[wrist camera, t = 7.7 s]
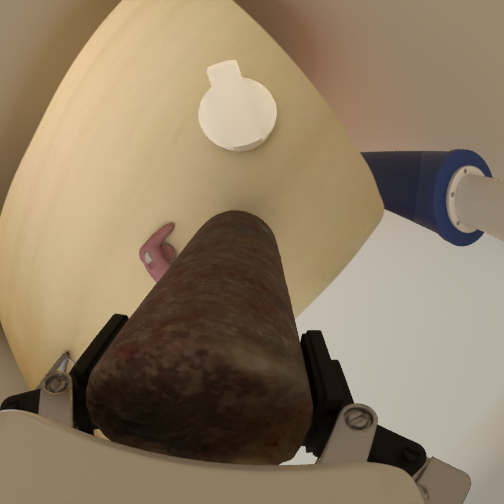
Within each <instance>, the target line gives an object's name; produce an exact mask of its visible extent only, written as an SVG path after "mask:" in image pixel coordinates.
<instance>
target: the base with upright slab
mask: <svg viewBox="0 0 504 504" xmlns="http://www.w3.org/2000/svg"><path fill="white" fill-rule="evenodd" d="M206 71H207V74H208V77H209V80H210V83H211V86H212V87H211V88H210V89H209V90H208V91H207V93H206V94H205V95H204V97H203V98H202V101H201V103H200V106H199V114H198V116H199V122H200V126H201V128H202V130H203V132H204V134H205V135H206V136H207V137H208V138H209V139H210V141H212V142H214V143H215V144H217V145H218V146H220V147H222V148H224V149H227V150H230V151H236V152H243V151H249V150H252V149H254V148H256V147H258V146H259V145H261V144H262V143H263V142H264V141H265V140H266V139H267V138H268V136H269V135H270V133H271V131H272V129H273V127H274V124H275V122H276V115H277V110H276V104H275V101H274V99H273V97H272V95H271V93H270V92H269V91H268V90H267V89H266V88H265V87H264V86H263V85H261V84H260V83H258V82H257V81H254V80H251V79H248V78H242V76H241V73H240V70H239V67H238V64H237V62H236V60H229V61H224V62H219V63H217V64H215V65H213V66H210V67H208V68H207V69H206Z"/></svg>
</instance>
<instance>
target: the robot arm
mask: <svg viewBox="0 0 504 504" xmlns="http://www.w3.org/2000/svg"><path fill="white" fill-rule="evenodd" d="M446 208H447V213H448V216H449V219H450V221H451V223H452V224H453V226H454V227H455V228H456V229H458V230H459V231H462V232H464V233H471V232H474V231H476V230H477V229H478V230H480V231H483V232H485V233H487V234H490V235H492V236H494V237H496V238H498V239H500V240H503V241H504V180H500V179H495V178H490V177H485V175H484V174H483V173H482V171H481V170H480V169H478V168H477V167H475V166H469V165H465V166H462V167H460V168H458V169H457V170H456V171H455V172H454V174H453V175H452V177H451V179H450V181H449V184H448V188H447V193H446ZM128 320H129V319H128V316H127V315H121V314H114V315H113V316H112V317H111V318H110V320H109V321H108V322H107V323H106V325H105V326H104V327H103V328H102V330H101V331H100V332H99V334H98V335H97V336H96V337H95V339H94V340H93V341H92V342H91V344H90V345H89V346H88V348H87V349H86V350H85V352H84V353H83V354H82V356H81V357H80V358H79V360H78V361H77V362H76V364H75V365H74V366H73V368H72V369H71V371H70V373H69V374H68V373H66V372H63V371H55V372H51V373H49V374H48V375H46V376H45V377H44V379H43V381H42V384H41V388H40V389H36V390H33V391H29V392H25V393H22V394H18V395H14V396H10V397H8V398H6V399H5V400H4V401H3V403H2V404H1V407H0V504H463V502H464V500H465V498H466V496H467V494H468V492H469V489H470V486H471V479H470V477H469V475H468V474H466V473H465V472H463V471H461V470H459V469H456V468H455V467H452V466H451V465H449V464H446V463H444V462H442V461H441V460H438V459H436V458H435V457H432V458H431V459H430V458H428V457H426V452H425V450H424V448H423V447H422V446H421V445H419V444H418V443H416V442H414V441H411V440H409V439H407V438H405V437H403V436H400V435H398V434H396V433H394V432H392V431H390V430H388V429H386V428H384V427H382V426H379V425H378V424H377V422H378V418H377V415H376V413H375V412H374V410H373V409H371V408H370V407H368V406H366V405H364V404H357V403H356V404H354V402H353V399H352V396H351V393H350V390H349V388H348V385H347V382H346V379H345V376H344V373H343V371H342V368H341V365H340V363H339V361H338V360H331V358H330V355H329V353H328V349H327V347H326V344H325V341H324V338H323V335H322V332H321V331H320V330H308V331H307V332H306V334H302V337H301V342H300V345H301V349H302V353H303V358H304V362H305V367H306V372H307V376H308V380H309V386H310V391H311V397H312V402H313V421H312V424H311V427H310V429H309V431H308V433H307V434H306V436H305V439H304V442H303V444H302V445H301V446H305V447H306V453H309V452H313V455H315V456H316V457H318V458H317V460H316V462H315V464H308V465H241V464H227V463H216V462H207V461H199V460H192V459H185V458H179V457H173V456H168V455H163V454H158V453H153V452H149V451H145V450H141V449H137V448H133V447H129V446H125V445H122V444H118V443H115V442H112V441H108V440H105V439H102V438H99V437H98V436H97V429H98V428H97V427H96V426H95V425H94V424H93V423H92V422H91V417H90V414H89V411H88V408H87V405H86V389H87V385H88V380H89V377H90V374H91V371H92V370H93V368H94V367H95V365H96V364H97V363H98V361H99V360H100V358H101V357H102V355H103V354H104V353H105V351H106V350H107V348H108V347H109V346H110V344H111V343H112V341H113V340H114V338H115V337H116V336H117V334H118V333H119V331H120V330H121V329H122V327H123V326H124V325H125V323H126V322H127V321H128Z"/></svg>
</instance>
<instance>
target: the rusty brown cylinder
mask: <svg viewBox="0 0 504 504" xmlns="http://www.w3.org/2000/svg"><path fill="white" fill-rule="evenodd" d="M86 405H87V408H88V411H89V414H90V417H91V422H92V423H93V424H94V425H95V426H96V427H97V428H98V429H100V430H101V431H102V433H103V434H104V435H105V436H106V437H107V438H108V439H109V440H110V441H112V442H115V443H118V444H122V445H125V446H129V447H133V448H137V449H141V450H145V451H149V452H153V453H158V454H163V455H168V456H173V457H179V458H185V459H192V460H199V461H207V462H216V463H227V464H241V465H279V464H281V463H283V462H286V461H289V460H291V459H292V458H294V456H295V454H296V453H297V451H298V450H299V448H300V447H301V445H302V444H303V442H304V439H305V436H306V434H307V433H308V431H309V429H310V427H311V424H312V421H313V402H312V397H311V391H310V386H309V380H308V376H307V372H306V367H305V362H304V358H303V353H302V349H301V345H300V341H299V336H298V332H297V328H296V323H295V319H294V315H293V311H292V305H291V301H290V297H289V293H288V288H287V285H286V281H285V276H284V272H283V267H282V263H281V257H280V254H279V250H278V246H277V242H276V239H275V236H274V234H273V232H272V230H271V229H270V228H269V226H268V225H267V224H266V223H265V222H264V221H263V220H262V219H260V218H259V217H257V216H255V215H252V214H250V213H248V212H245V211H237V210H230V211H226V212H223V213H220V214H217V215H215V216H214V217H212V218H211V219H209V220H208V221H207V222H206V223H205V224H204V225H203V226H202V227H201V228H200V229H199V230H198V231H197V233H196V234H195V235H194V236H193V238H192V239H191V240H190V241H189V243H188V244H187V245H186V247H185V248H184V249H183V250H182V252H181V253H180V254H179V256H178V257H177V258H176V260H175V261H174V262H173V263H172V265H171V266H170V267H169V268H168V270H167V271H166V272H165V273H164V275H163V276H162V277H161V279H160V280H159V281H158V282H157V283H156V285H155V286H154V287H153V289H152V290H151V292H150V293H149V294H148V295H147V296H146V298H145V299H144V300H143V302H142V303H141V304H140V306H139V307H138V308H137V310H136V311H135V312H134V313H133V315H132V316H131V317H130V318H129V320H128V321H127V322H126V323H125V325H124V326H123V327H122V329H121V330H120V331H119V333H118V334H117V336H116V337H115V338H114V340H113V341H112V343H111V344H110V346H109V347H108V348H107V350H106V351H105V353H104V354H103V355H102V357H101V358H100V360H99V361H98V363H97V364H96V365H95V367H94V368H93V370H92V371H91V374H90V377H89V380H88V385H87V389H86Z"/></svg>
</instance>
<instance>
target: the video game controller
mask: <svg viewBox="0 0 504 504" xmlns="http://www.w3.org/2000/svg"><path fill="white" fill-rule="evenodd" d="M173 227H174V225H173V224H172V223H171V224H167V225H165V226H164V227H162V228H161V229H159V230H158V231H157V232H156V233H154V234H153V235H152V236H151V237H150V238H149V239H148V240H147V241H146V243H145V244H144V245H143V246H142V247H141V248H140V251H139V256H140V259H141V261H142V262H143V263H144V265H145V267H146V269H147V271H148V272H149V274H150V275H151V277H152V278H153V279H154V280H155V281H156V282H158V281H159V280H160V279H161V277H162V276H163V275H164V273H165V272H166V271H167V270H168V268H169V267H170V266H171V264H170V263H169V260H171V259H173V257H174V255H175V253H174V250H173V248H172V247H171V246H169V245H164V246H161V243H162V242H163V240H164V239H165V238H166V237H167V236H168V235H169V234H170V232H171V231H172V229H173Z"/></svg>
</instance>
